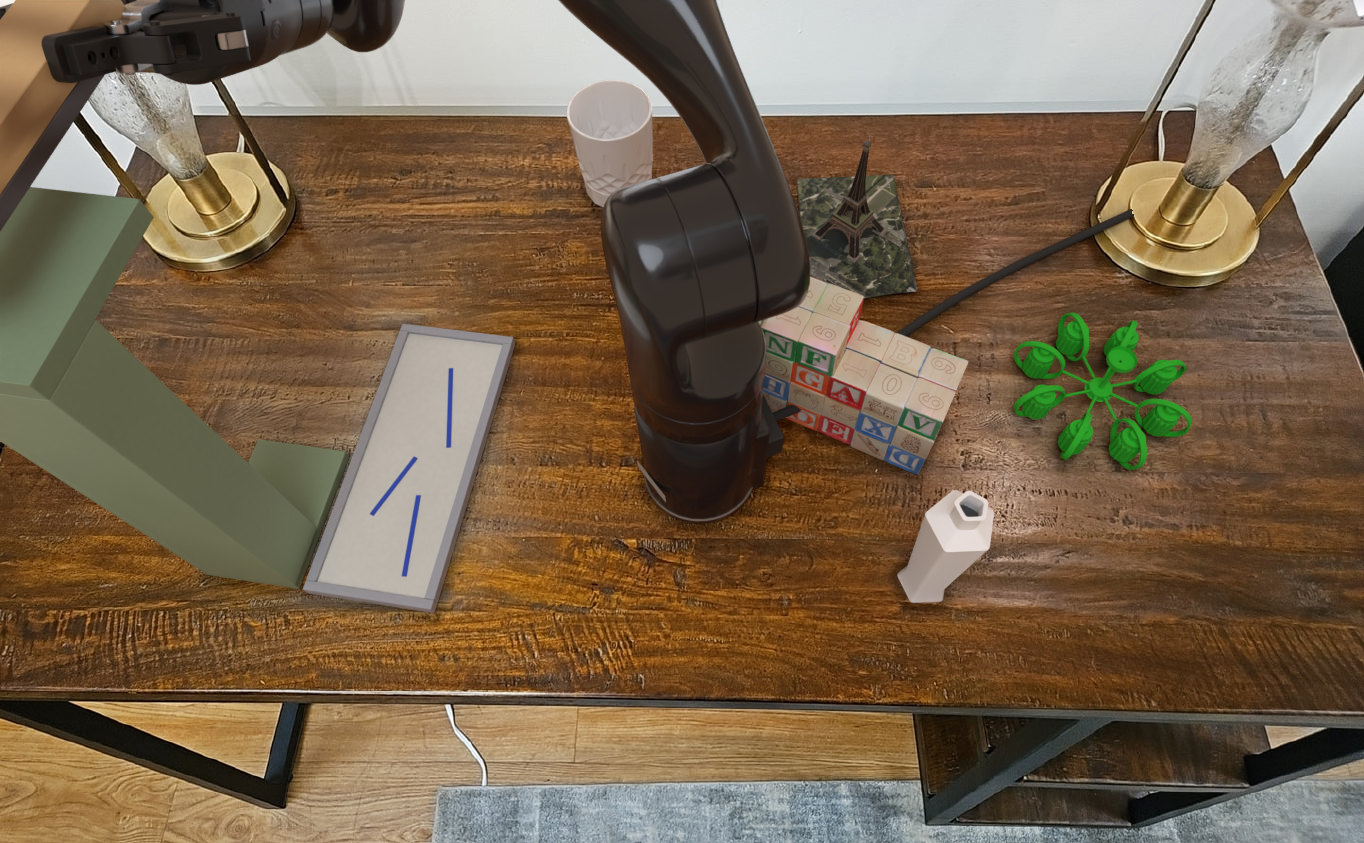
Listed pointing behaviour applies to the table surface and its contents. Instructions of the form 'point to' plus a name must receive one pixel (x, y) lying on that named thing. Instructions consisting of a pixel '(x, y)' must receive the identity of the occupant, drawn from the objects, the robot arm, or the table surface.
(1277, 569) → the table surface
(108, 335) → the green bent block
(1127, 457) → the chandelier
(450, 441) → the whiteboard
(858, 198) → the eiffel tower figurine
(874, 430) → the stack of blocks
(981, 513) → the white faceted vase
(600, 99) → the white cup
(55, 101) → the eraser
